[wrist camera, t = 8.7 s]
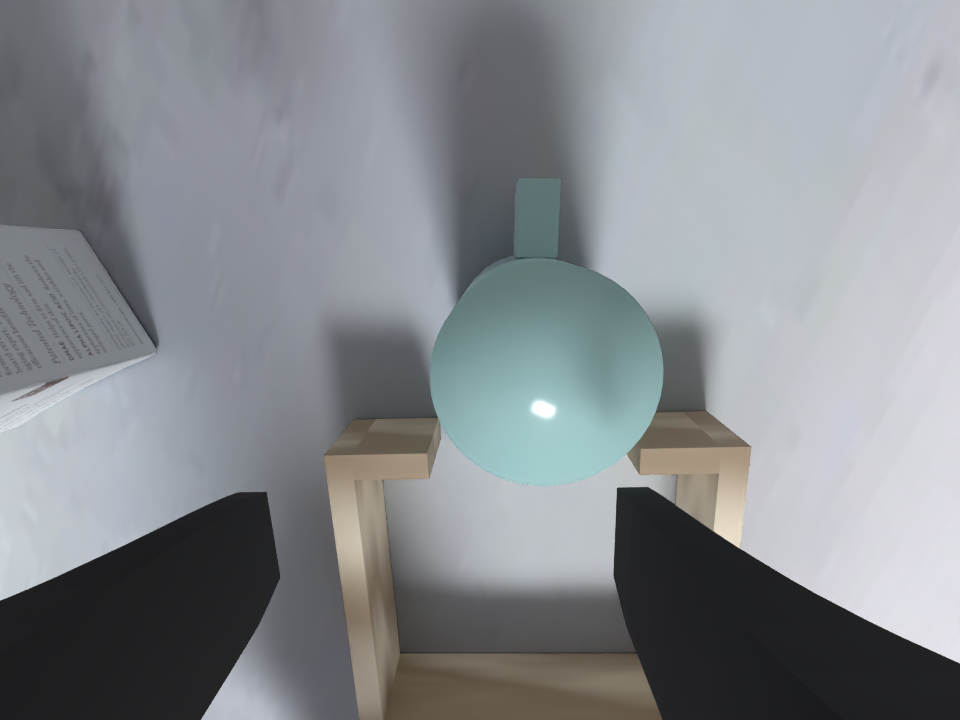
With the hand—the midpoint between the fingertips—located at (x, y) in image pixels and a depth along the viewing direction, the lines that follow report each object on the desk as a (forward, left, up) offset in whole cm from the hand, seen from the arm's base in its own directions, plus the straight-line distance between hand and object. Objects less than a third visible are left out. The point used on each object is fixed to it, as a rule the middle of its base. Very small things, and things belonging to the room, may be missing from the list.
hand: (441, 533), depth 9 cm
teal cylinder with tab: (+4, -2, -10) cm, 11 cm away
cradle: (-7, -2, -10) cm, 13 cm away
